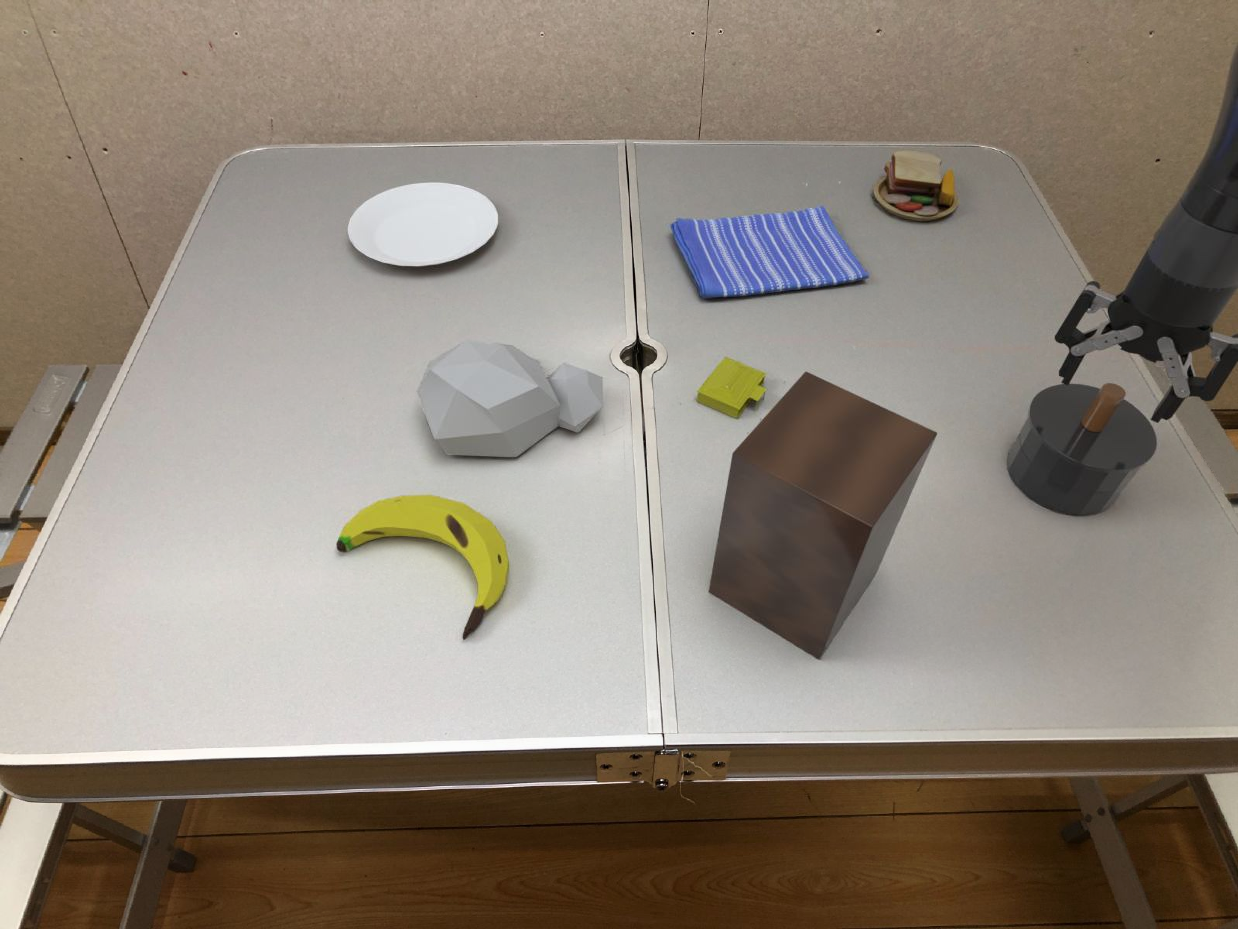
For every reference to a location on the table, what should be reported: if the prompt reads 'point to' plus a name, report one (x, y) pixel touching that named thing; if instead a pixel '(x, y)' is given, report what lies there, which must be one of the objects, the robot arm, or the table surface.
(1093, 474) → the pot
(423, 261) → the plate
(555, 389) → the rock
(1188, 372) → the robot arm
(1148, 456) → the lid
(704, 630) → the table surface
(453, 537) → the banana
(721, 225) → the dish towel
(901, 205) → the toy sandwich meal
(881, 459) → the brown rectangular block
